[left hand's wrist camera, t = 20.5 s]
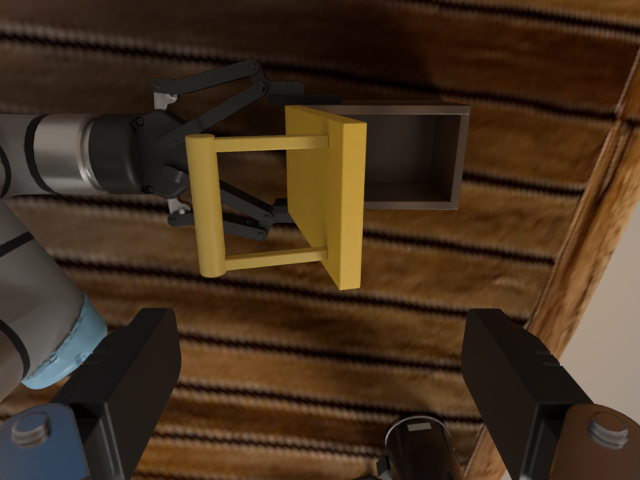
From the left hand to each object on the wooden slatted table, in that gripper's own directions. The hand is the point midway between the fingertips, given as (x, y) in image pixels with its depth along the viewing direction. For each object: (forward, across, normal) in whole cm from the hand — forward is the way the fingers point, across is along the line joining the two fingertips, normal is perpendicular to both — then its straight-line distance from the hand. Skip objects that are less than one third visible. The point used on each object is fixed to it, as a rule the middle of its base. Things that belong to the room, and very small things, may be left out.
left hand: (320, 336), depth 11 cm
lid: (+20, 0, 0) cm, 20 cm away
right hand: (+30, -2, 0) cm, 30 cm away
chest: (+36, -5, 0) cm, 37 cm away
